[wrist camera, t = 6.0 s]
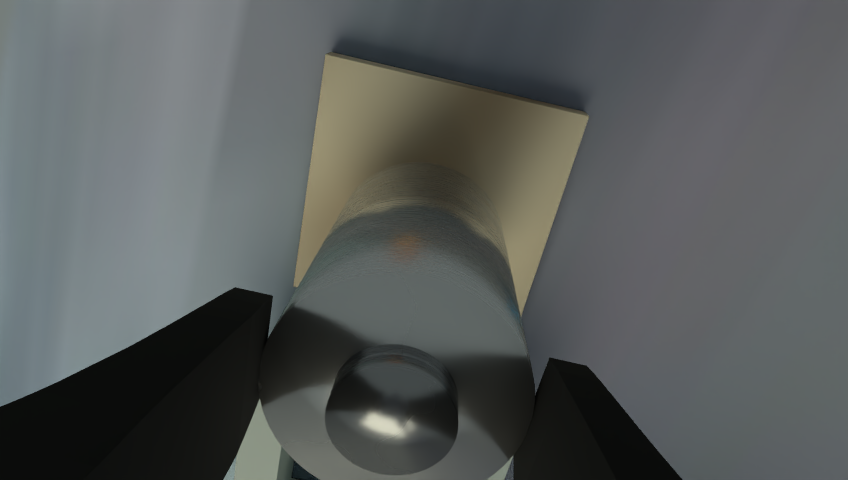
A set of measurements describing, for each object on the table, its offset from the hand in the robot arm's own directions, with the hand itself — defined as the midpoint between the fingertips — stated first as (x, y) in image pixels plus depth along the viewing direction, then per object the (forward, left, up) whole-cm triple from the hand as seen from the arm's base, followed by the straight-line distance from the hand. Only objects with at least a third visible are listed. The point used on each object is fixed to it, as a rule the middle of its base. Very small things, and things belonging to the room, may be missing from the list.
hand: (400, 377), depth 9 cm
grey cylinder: (0, +1, -6) cm, 6 cm away
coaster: (0, 0, -8) cm, 8 cm away
